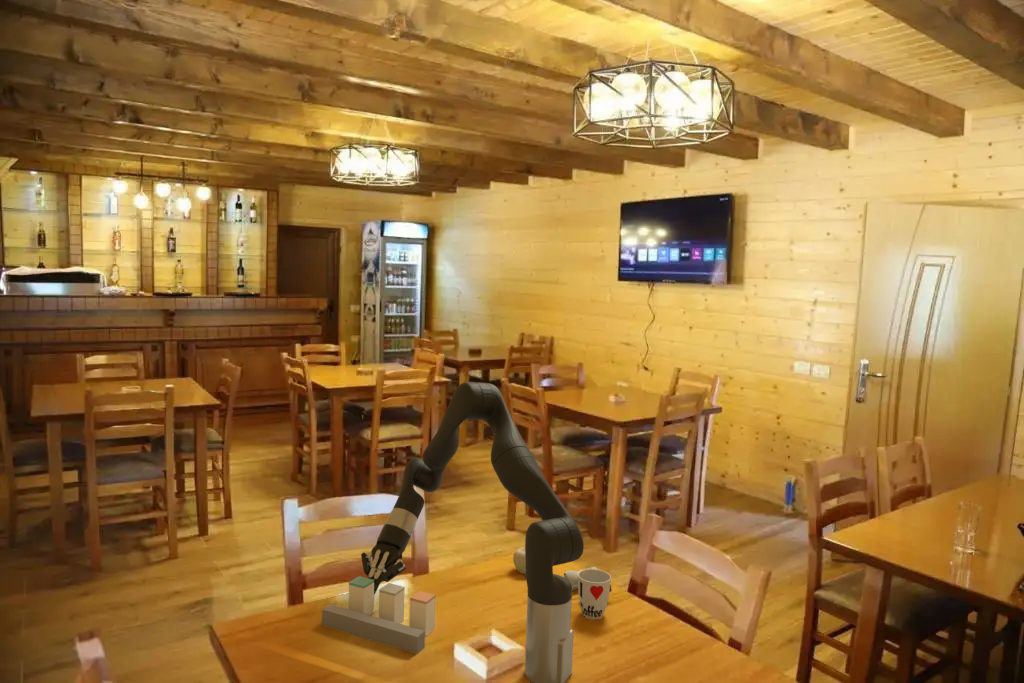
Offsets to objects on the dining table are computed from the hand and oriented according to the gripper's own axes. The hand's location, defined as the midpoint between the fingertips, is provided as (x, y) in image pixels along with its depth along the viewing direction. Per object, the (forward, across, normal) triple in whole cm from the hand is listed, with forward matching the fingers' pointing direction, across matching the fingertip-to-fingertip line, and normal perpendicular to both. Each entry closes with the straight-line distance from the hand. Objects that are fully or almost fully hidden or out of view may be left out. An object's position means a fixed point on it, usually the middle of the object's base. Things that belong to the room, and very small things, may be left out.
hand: (367, 594), depth 171 cm
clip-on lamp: (-21, +40, +28) cm, 53 cm away
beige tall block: (+4, +8, +1) cm, 10 cm away
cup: (-15, +48, +23) cm, 56 cm away
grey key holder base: (+6, +8, +1) cm, 10 cm away
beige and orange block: (+4, +17, +1) cm, 18 cm away
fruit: (-26, +23, +33) cm, 48 cm away
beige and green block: (+4, 0, +1) cm, 4 cm away
